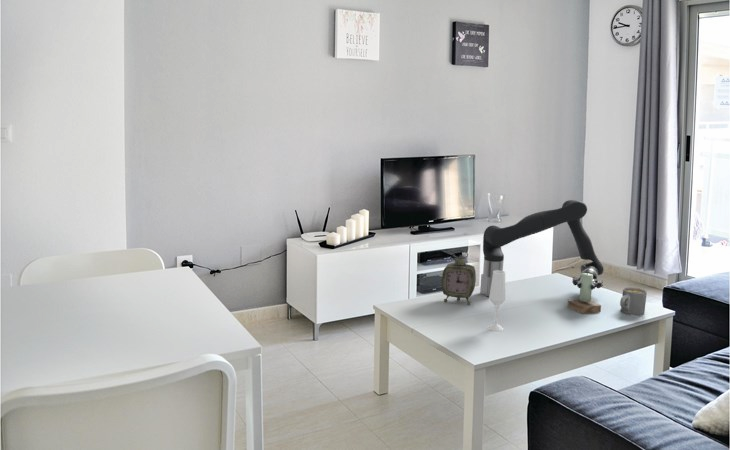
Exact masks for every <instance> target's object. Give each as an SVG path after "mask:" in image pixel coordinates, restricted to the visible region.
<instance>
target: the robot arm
mask: <svg viewBox="0 0 730 450" xmlns="http://www.w3.org/2000/svg"><path fill="white" fill-rule="evenodd" d="M587 212H588V207H587V205H586V203H584V202H583V201H581V200H577V199H576V200H575V199H568V200H565V201H564V203H563V204H562V206H561V207H560V208H557V209H556V208H555V209H550V210H549V209H548V210H543V211H539V212H535V213H532V214H529V215H526V216H525V217H523V218H522V219H520V220H519V221H518V222H517V223H515V224H513V225H509V226H506V227H500V226H496V225H490V226H488V227H486V228H485V230H484V232H483V237H482V240H483V241H482V253H483V271H482V274H481V275H480V287H479V288H480V290H479V291H480V292H479V293H480V294H481V295H483V296H485V297H489V295H490V289H491V283H492V277H493V271H496V270H500V271H504V270H503V269H504V259H505V256H504V253H503V249H502V247H504V246H506V245H508V244H510V243H512V242H515V241H517V240H519V239H523V238H525V237H529V236H531V235H534V234H539V233H541V232H544V231H546V230H548V229H551V228H554V227H557V226H560V225H562V224H564V223H567V225H568V228H569V229H570V232H571V234H572V236H573V239H574V241H575V244H576V247H577V250H578V253H579V256H580V259H581V260H584V261H586V260H587V261H591V262H586V263H583V264H582V265H580V273H581V274H582V273H589V274H593V282H592V286H591V290H592V291H593V290H595V289H601V287H603V286H604V280H601V279H600V280H598V278H599V276H601V275H602V274H604V270H605V269H604V265H603V264H602V262H601V261H600V259H599V258H598V256H597V255H596V252H595V250H594V247H593V244H592V240H591V237H589V235H588V233H587V232H586V230H585V228H584V227H583V224H582V221H581V219H583V218H584V217H585V216H586V214H587ZM571 282H572V284H573V286H577V287H578V289H580V286H581V275H580V276H579V277H578V278H577V277H576V276H572V280H571Z"/></svg>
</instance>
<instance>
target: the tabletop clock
mask: <svg viewBox="0 0 730 450" xmlns="http://www.w3.org/2000/svg"><path fill="white" fill-rule="evenodd" d="M456 252H463V253H465V254H466V256H462V255H459V256H458V255H457V256H456V255H455V253H456ZM452 255H453V257H455V258H456V260H455V261H454V262H451V263H448V264H446V266H445V267H444V269H443V271H442V274H441V275H442V276H441V290H442V293H443V295H445V296H446V298H444V299H443V302H444V303H447V302H448V299H449V297H451V298H456V301H458V302H460V301H461V299H466V301H467V302H466V305H467V306H471V302H470V301H469V298H471V296H472V294H473V292H474V291H475V288H476V281H477V274H476V269H475V266H473V265H471V264H467V263H466V260H464V259H467V258H468V257H469V253H468V252H467V251H466V250H465V249H459V248H458V249H455V250H453V252H452Z"/></svg>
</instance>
